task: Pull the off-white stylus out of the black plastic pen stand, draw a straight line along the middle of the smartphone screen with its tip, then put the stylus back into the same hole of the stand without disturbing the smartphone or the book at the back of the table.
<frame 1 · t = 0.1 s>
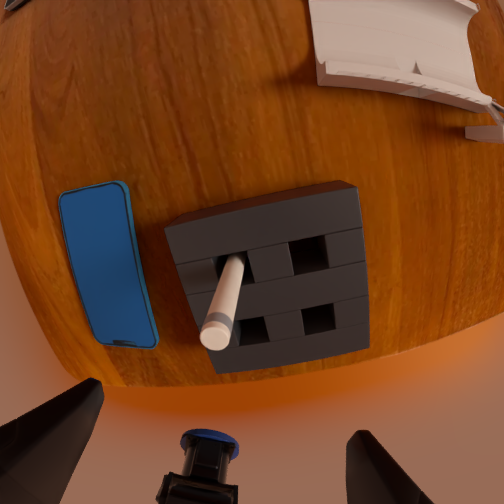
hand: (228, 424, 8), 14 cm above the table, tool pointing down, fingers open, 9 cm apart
skate ramp: (403, 52, 15), on the table
smartphone: (109, 269, 23), on the table
stylus: (239, 249, 21), resting in pen stand
pen stand: (276, 272, 22), on the table
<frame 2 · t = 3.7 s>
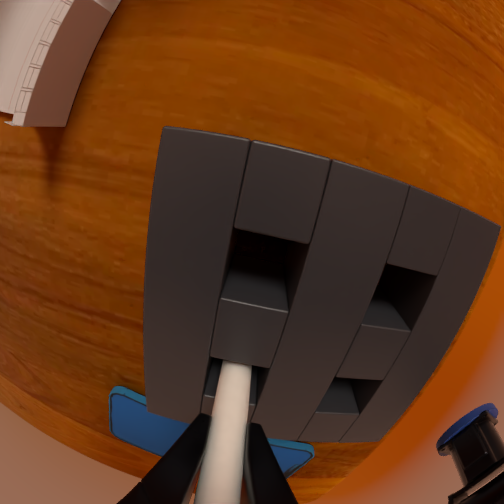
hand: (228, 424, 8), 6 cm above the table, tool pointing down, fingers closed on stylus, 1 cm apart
skate ramp: (74, 0, 8), on the table
smartphone: (206, 441, 18), on the table
stylus: (242, 325, 14), resting in pen stand, touching gripper
pen stand: (303, 294, 13), on the table
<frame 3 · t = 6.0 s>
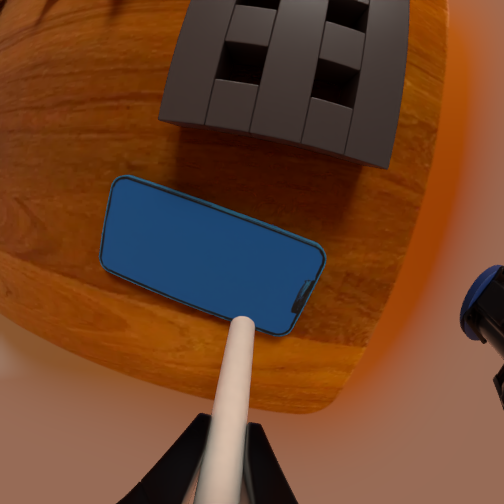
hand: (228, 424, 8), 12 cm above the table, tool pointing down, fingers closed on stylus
smartphone: (204, 254, 19), on the table
stylus: (242, 325, 14), point 6 cm above the table, touching gripper
pen stand: (291, 56, 14), on the table
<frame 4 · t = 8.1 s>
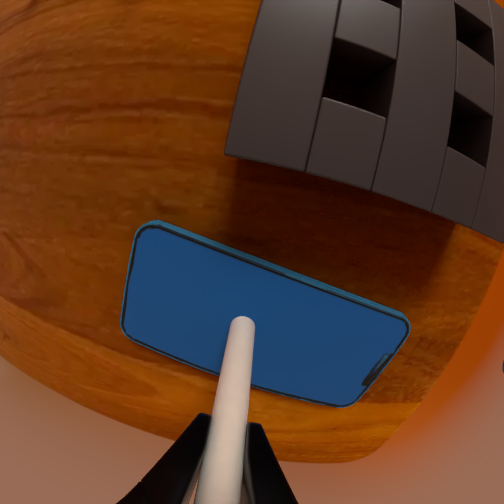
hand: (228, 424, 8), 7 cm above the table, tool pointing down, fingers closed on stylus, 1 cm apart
smartphone: (263, 325, 15), on the table
stylus: (242, 325, 14), point 1 cm above the table, touching gripper
pen stand: (389, 71, 10), on the table
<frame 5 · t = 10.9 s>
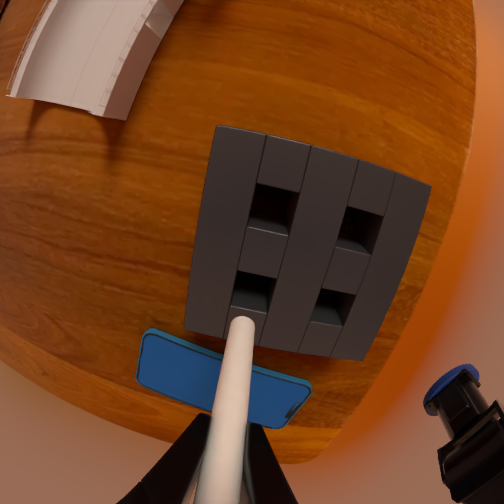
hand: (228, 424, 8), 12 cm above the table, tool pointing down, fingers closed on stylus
skate ramp: (125, 21, 14), on the table
smartphone: (220, 381, 23), on the table
stylus: (242, 325, 14), point 6 cm above the table, touching gripper
pen stand: (298, 240, 19), on the table
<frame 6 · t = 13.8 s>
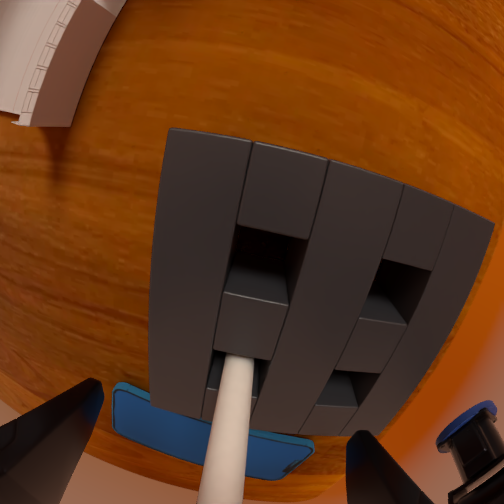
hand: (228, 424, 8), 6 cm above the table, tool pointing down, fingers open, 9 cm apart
skate ramp: (78, 2, 8), on the table
smartphone: (207, 437, 18), on the table
stylus: (245, 321, 14), resting in pen stand
pen stand: (302, 290, 13), on the table
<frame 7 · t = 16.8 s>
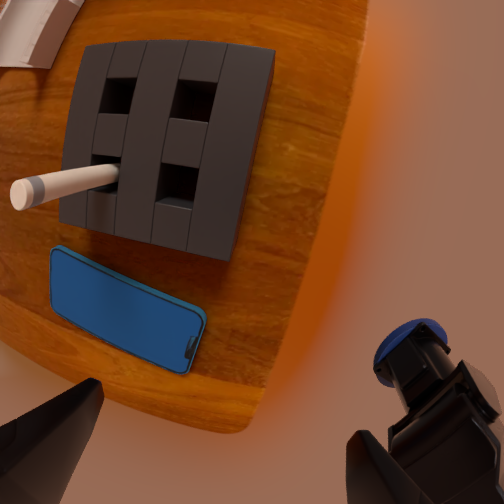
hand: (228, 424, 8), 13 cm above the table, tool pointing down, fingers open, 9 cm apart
skate ramp: (61, 0, 13), on the table
smartphone: (119, 308, 22), on the table
stylus: (133, 169, 18), resting in pen stand
pen stand: (168, 139, 17), on the table
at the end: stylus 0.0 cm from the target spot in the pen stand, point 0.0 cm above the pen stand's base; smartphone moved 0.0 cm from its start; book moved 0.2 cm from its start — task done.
